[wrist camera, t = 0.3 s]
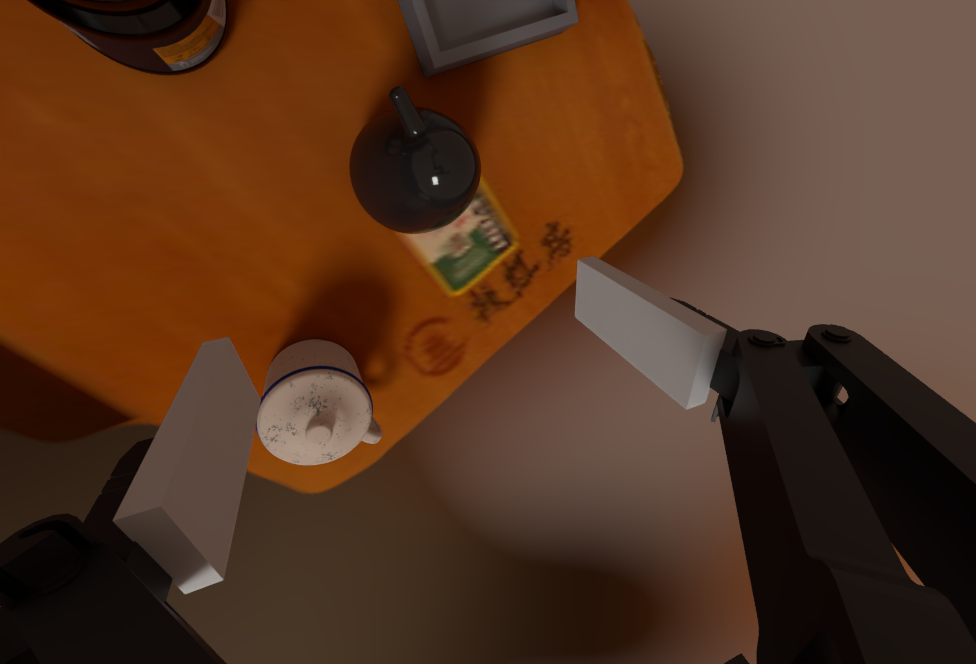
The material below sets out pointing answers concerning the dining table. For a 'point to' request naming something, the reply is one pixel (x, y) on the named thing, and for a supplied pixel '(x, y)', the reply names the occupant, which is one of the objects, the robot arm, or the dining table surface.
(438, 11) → the tray
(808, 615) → the robot arm
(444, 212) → the pump dispenser
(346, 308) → the dining table surface
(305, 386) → the teacup with lid
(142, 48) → the supplement container
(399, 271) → the dining table surface
